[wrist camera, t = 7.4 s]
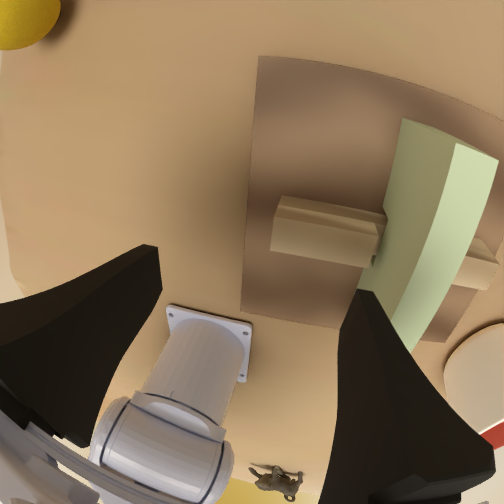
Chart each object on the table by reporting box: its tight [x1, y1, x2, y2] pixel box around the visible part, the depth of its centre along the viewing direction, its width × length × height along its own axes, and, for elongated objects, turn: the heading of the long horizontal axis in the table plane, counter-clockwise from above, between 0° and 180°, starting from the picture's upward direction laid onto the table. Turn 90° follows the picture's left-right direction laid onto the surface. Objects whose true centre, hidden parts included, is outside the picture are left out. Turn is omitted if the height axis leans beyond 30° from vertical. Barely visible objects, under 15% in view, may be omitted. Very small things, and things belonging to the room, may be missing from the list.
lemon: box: [0, 0, 61, 50], centre depth 9 cm, size 6×6×8 cm
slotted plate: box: [354, 118, 499, 353], centre depth 14 cm, size 14×2×7 cm, turn 176°
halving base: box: [240, 56, 504, 343], centre depth 16 cm, size 18×18×4 cm
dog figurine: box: [249, 466, 303, 502], centre depth 46 cm, size 12×6×8 cm, turn 56°
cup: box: [443, 323, 504, 450], centre depth 17 cm, size 10×10×10 cm
